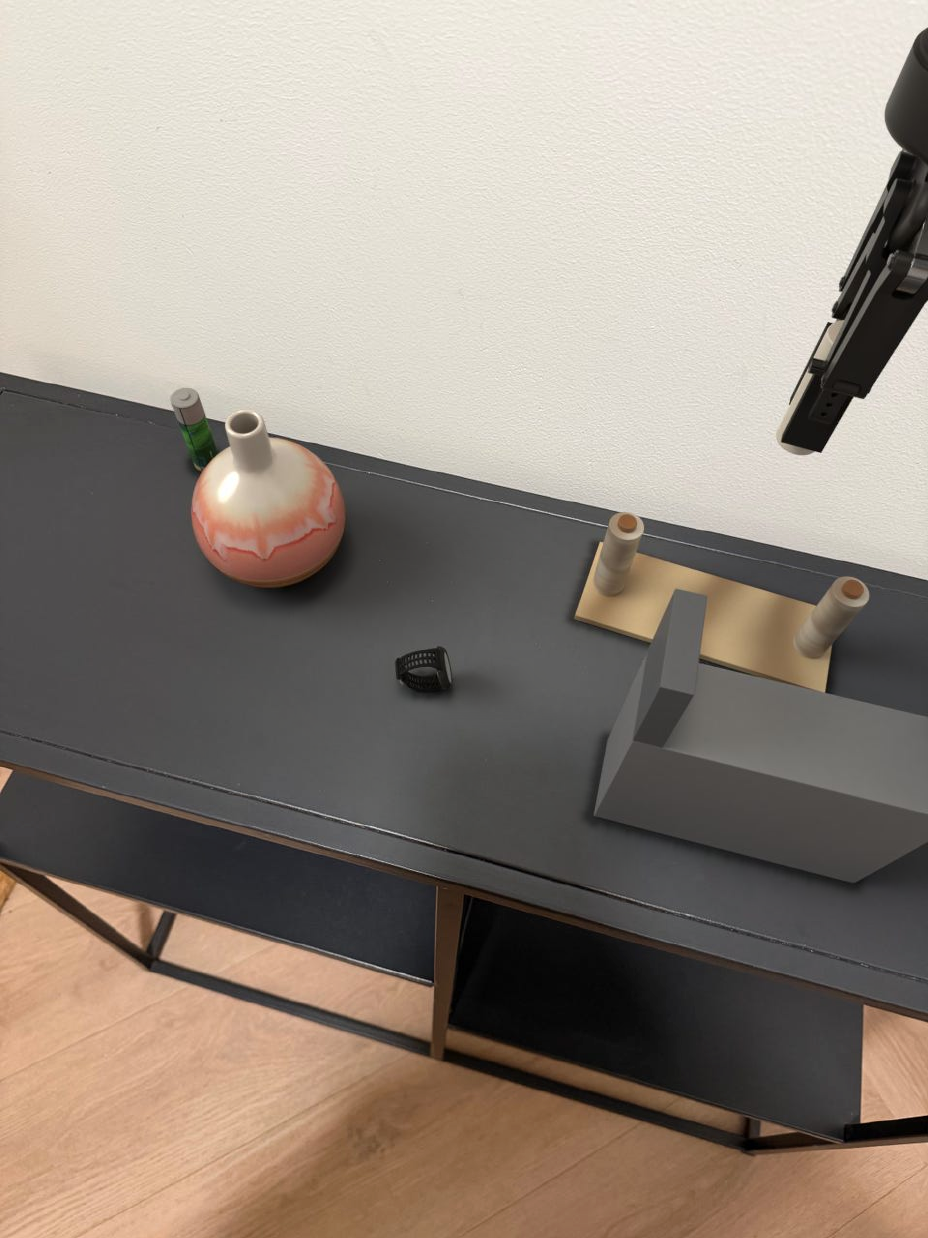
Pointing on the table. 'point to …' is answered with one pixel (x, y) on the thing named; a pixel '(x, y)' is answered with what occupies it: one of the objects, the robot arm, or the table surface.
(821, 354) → the white cell
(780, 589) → the table surface
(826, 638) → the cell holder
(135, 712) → the table surface
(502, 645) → the table surface
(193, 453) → the battery
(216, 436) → the table surface
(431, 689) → the smartwatch
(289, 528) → the vase
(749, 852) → the grey stand
